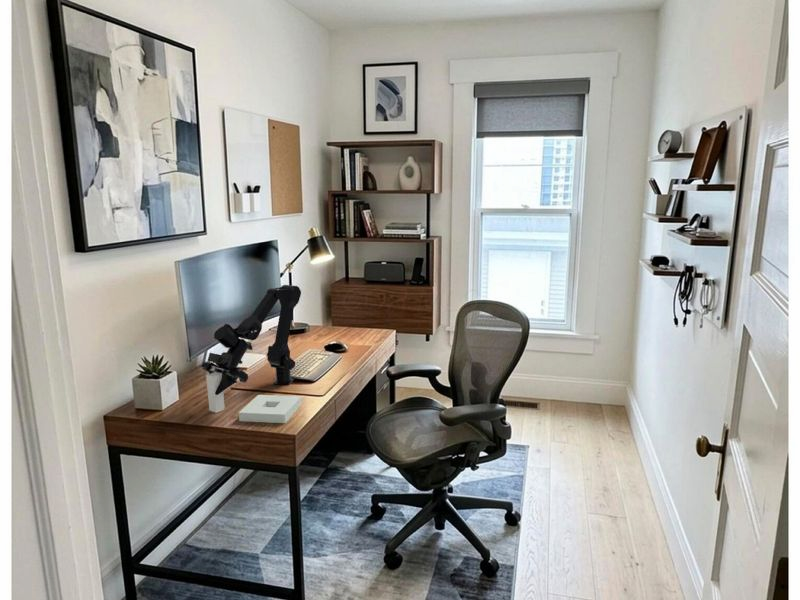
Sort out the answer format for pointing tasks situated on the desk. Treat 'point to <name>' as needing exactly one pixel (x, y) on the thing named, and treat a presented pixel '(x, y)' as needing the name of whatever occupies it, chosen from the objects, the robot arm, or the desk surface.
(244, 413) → the socket
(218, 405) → the plug
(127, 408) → the desk surface
